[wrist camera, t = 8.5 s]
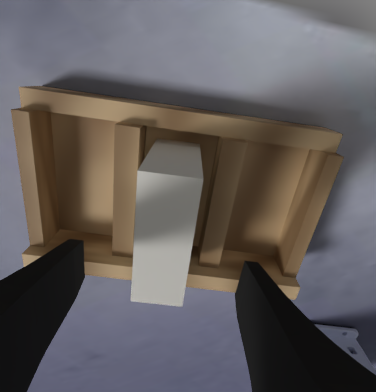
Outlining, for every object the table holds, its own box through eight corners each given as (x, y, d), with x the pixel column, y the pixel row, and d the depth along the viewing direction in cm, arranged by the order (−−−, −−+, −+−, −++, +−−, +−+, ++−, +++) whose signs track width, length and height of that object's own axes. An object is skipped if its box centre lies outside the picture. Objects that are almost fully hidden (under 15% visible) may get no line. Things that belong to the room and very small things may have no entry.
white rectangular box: (199, 144, 18) (203, 179, 12) (185, 238, 21) (182, 306, 15) (157, 138, 18) (137, 170, 12) (149, 234, 21) (130, 301, 15)
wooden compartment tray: (324, 127, 18) (371, 144, 14) (277, 260, 23) (299, 308, 18) (41, 85, 18) (-17, 88, 13) (54, 233, 22) (17, 275, 18)
